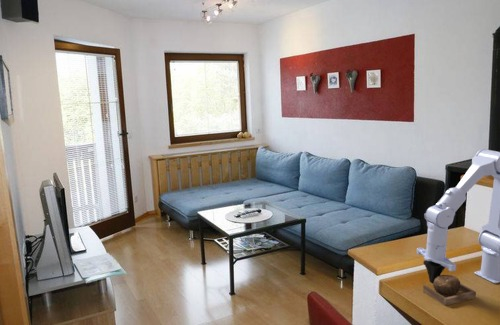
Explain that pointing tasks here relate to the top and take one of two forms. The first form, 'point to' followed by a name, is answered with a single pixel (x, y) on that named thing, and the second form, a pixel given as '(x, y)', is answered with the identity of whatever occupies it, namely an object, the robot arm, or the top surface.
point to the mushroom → (446, 285)
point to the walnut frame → (466, 295)
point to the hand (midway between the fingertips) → (433, 282)
